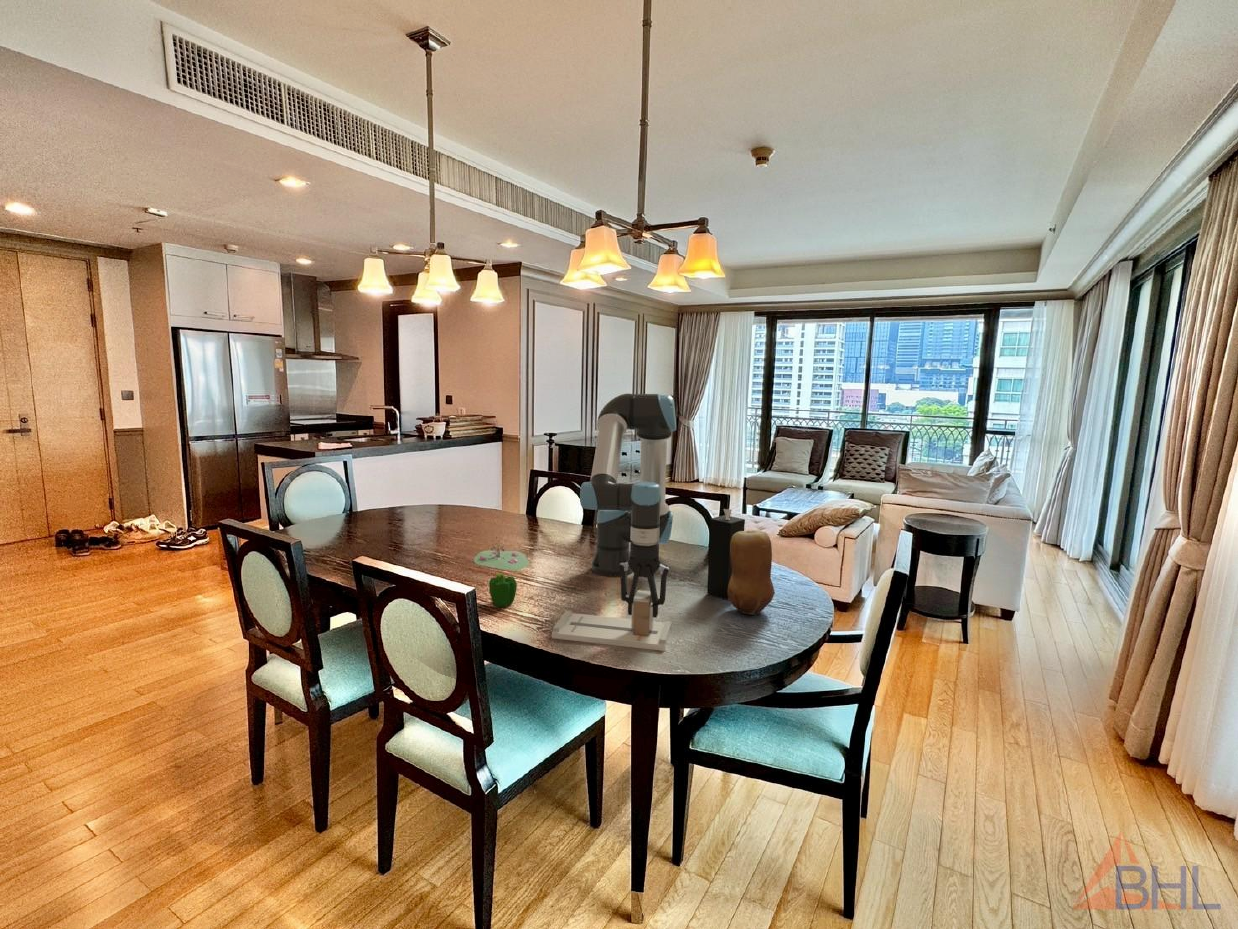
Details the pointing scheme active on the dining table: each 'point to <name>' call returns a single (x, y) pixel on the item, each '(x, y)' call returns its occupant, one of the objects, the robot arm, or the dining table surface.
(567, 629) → the slider console
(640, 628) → the fader knob
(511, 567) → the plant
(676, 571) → the dining table surface
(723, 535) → the tissue box
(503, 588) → the bell pepper
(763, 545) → the butternut squash
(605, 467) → the robot arm
